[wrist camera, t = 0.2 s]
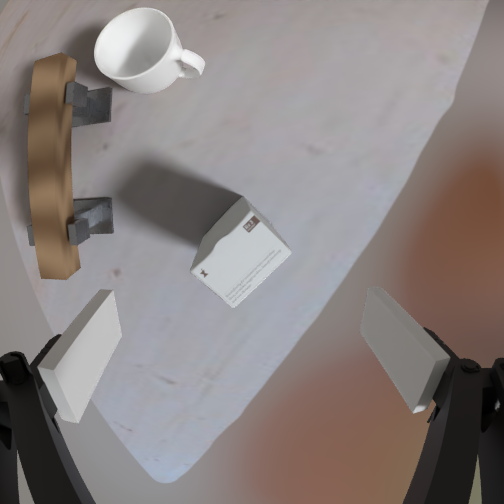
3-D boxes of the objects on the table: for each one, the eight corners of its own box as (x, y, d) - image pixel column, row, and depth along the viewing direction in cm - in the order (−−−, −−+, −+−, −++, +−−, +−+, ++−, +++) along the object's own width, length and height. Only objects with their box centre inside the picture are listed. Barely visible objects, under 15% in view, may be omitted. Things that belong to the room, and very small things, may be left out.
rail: (51, 67, 26) (34, 61, 22) (77, 60, 26) (61, 52, 22) (56, 267, 33) (41, 278, 30) (80, 267, 34) (66, 279, 30)
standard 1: (66, 97, 34) (24, 85, 23) (112, 88, 34) (77, 70, 24) (64, 128, 35) (21, 125, 25) (110, 121, 36) (73, 112, 25)
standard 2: (65, 201, 39) (24, 216, 28) (111, 198, 39) (75, 212, 29) (69, 233, 40) (30, 255, 30) (113, 232, 41) (80, 256, 30)
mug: (118, 96, 35) (81, 75, 23) (140, 41, 33) (112, 5, 21) (197, 112, 36) (183, 90, 25) (217, 55, 34) (213, 16, 23)
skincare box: (231, 263, 43) (232, 314, 29) (200, 234, 42) (185, 274, 28) (274, 221, 42) (296, 255, 28) (243, 191, 40) (249, 209, 26)
